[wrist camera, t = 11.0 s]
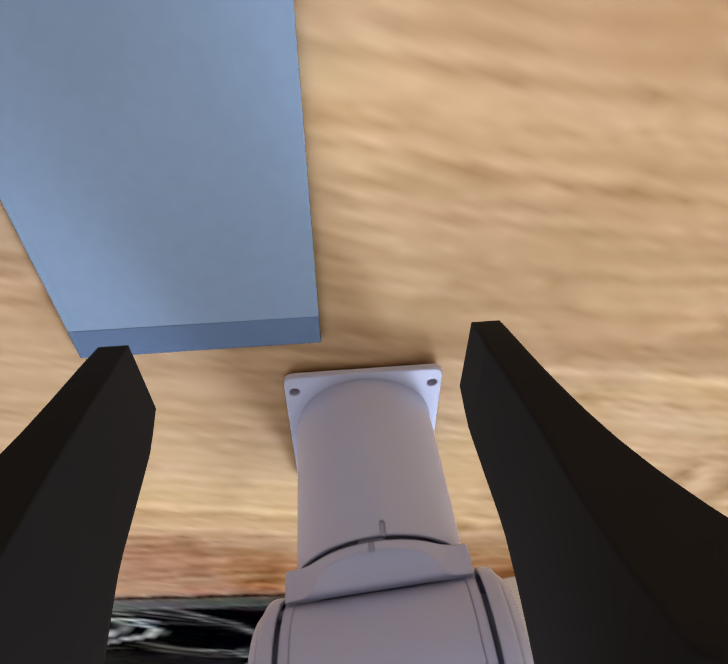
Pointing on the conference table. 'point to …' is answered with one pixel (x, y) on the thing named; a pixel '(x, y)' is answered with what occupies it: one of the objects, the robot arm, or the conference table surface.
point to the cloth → (160, 170)
